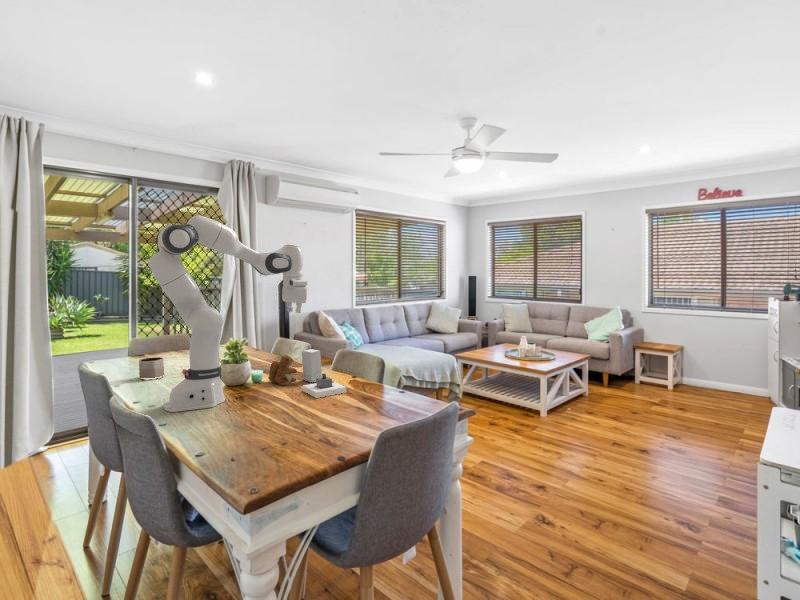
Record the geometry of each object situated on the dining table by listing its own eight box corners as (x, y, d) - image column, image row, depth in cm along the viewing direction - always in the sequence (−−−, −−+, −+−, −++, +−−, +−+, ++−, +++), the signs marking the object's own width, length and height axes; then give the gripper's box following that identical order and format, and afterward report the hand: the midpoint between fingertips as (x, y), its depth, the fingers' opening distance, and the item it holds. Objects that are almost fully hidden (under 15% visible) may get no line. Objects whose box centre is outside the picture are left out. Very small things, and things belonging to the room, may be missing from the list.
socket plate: (316, 398, 183) (316, 390, 183) (302, 391, 195) (302, 383, 195) (346, 392, 191) (346, 385, 191) (331, 386, 203) (331, 379, 203)
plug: (321, 394, 190) (321, 375, 189) (316, 391, 194) (316, 373, 193) (332, 392, 192) (331, 374, 192) (327, 390, 196) (326, 372, 196)
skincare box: (322, 381, 212) (321, 350, 211) (311, 383, 208) (310, 352, 207) (312, 378, 218) (312, 348, 217) (302, 380, 214) (301, 349, 213)
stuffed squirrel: (288, 386, 204) (287, 357, 203) (262, 384, 208) (261, 356, 208) (300, 381, 213) (299, 353, 213) (274, 379, 218) (274, 352, 217)
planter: (134, 380, 219) (133, 360, 219) (152, 375, 230) (151, 356, 229) (151, 381, 216) (150, 361, 215) (169, 376, 226) (168, 357, 226)
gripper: (278, 281, 205) (279, 311, 206) (295, 282, 188) (296, 314, 189) (291, 281, 209) (292, 310, 209) (309, 281, 192) (309, 313, 193)
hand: (294, 312), depth 199 cm, fingers open, 8 cm apart
